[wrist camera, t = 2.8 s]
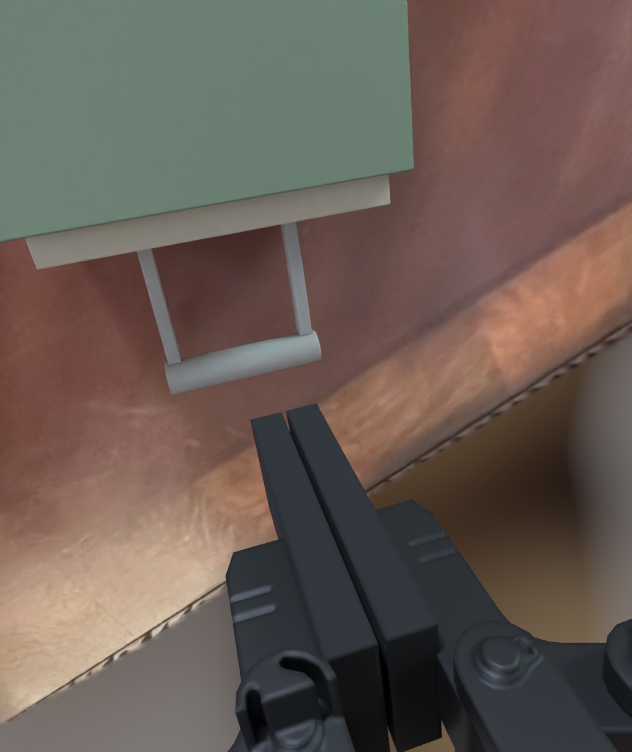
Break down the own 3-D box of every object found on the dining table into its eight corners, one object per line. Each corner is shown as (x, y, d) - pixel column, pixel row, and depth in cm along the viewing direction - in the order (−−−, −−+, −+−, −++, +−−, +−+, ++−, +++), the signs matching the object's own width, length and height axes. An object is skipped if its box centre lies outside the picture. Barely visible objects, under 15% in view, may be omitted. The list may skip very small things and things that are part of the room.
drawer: (352, 322, 30) (401, 376, 24) (114, 375, 28) (102, 448, 22) (284, -320, 19) (345, -525, 13) (-117, -316, 17) (-273, -560, 11)
